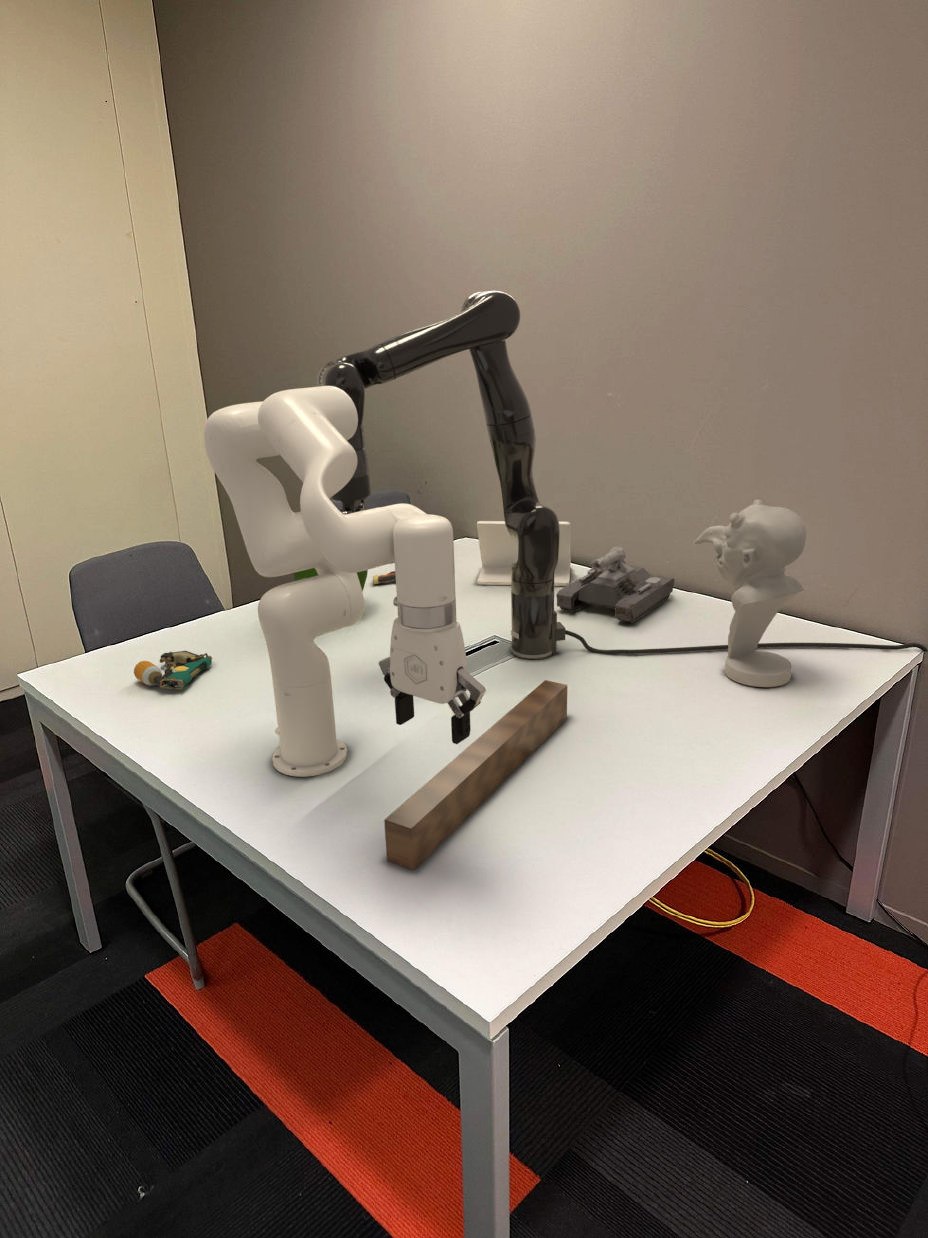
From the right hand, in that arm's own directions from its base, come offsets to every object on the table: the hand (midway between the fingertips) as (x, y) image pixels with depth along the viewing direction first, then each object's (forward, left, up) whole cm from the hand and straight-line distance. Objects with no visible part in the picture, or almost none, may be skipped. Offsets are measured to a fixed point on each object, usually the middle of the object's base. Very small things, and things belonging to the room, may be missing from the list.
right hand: (356, 555), depth 165 cm
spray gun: (+39, -14, -27) cm, 49 cm away
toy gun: (-15, -70, -27) cm, 77 cm away
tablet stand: (-50, -60, -27) cm, 83 cm away
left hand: (-5, +58, -9) cm, 59 cm away
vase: (+4, -43, -27) cm, 51 cm away
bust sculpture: (-75, +14, -27) cm, 81 cm away
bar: (-16, +43, -27) cm, 53 cm away
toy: (-66, -30, -27) cm, 77 cm away
